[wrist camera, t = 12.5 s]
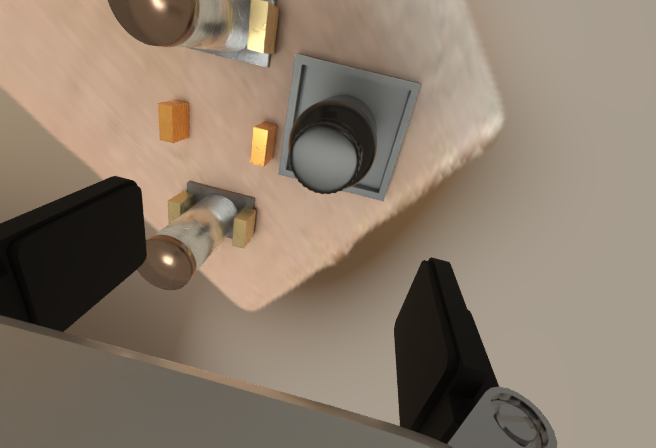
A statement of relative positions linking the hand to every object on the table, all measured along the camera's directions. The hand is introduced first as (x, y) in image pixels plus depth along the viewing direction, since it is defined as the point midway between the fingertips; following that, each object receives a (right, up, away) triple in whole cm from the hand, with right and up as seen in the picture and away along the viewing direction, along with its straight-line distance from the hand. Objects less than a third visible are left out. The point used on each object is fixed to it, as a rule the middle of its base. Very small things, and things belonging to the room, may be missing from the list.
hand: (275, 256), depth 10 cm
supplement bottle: (+3, +11, +21) cm, 24 cm away
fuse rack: (-9, +11, +23) cm, 27 cm away
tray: (+3, +11, +21) cm, 24 cm away
